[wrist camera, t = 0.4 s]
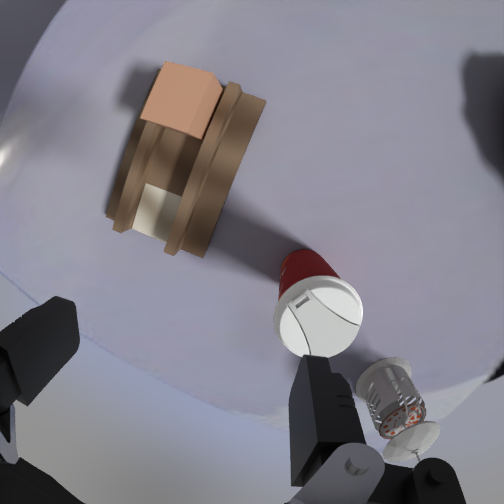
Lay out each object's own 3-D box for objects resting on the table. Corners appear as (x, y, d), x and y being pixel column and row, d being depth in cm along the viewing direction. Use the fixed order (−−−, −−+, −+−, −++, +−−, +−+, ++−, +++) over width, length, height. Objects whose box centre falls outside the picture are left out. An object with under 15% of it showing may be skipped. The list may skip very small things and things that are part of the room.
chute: (161, 70, 31) (149, 60, 27) (266, 102, 31) (265, 93, 28) (109, 215, 36) (93, 220, 32) (204, 256, 37) (196, 265, 33)
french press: (355, 409, 42) (389, 536, 18) (354, 357, 39) (407, 503, 15) (409, 394, 41) (463, 507, 17) (414, 340, 38) (496, 462, 14)
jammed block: (187, 83, 30) (165, 61, 22) (225, 94, 30) (213, 73, 23) (167, 128, 32) (140, 118, 24) (205, 141, 32) (187, 132, 24)
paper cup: (259, 265, 37) (253, 320, 23) (309, 227, 35) (334, 261, 21) (297, 311, 38) (309, 379, 24) (345, 275, 36) (382, 330, 23)
